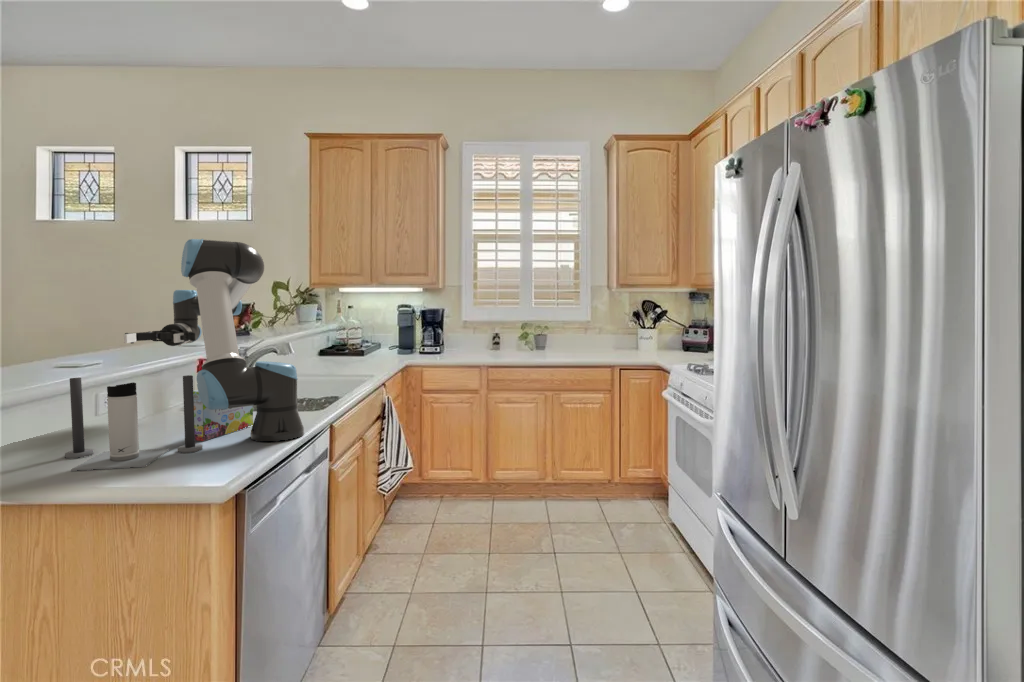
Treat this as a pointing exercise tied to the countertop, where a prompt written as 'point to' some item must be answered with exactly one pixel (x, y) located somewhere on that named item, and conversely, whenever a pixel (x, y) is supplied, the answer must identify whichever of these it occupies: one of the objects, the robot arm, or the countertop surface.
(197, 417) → the snack box
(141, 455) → the mat
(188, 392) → the post
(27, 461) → the countertop surface
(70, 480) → the countertop surface
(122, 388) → the travel mug
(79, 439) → the post
